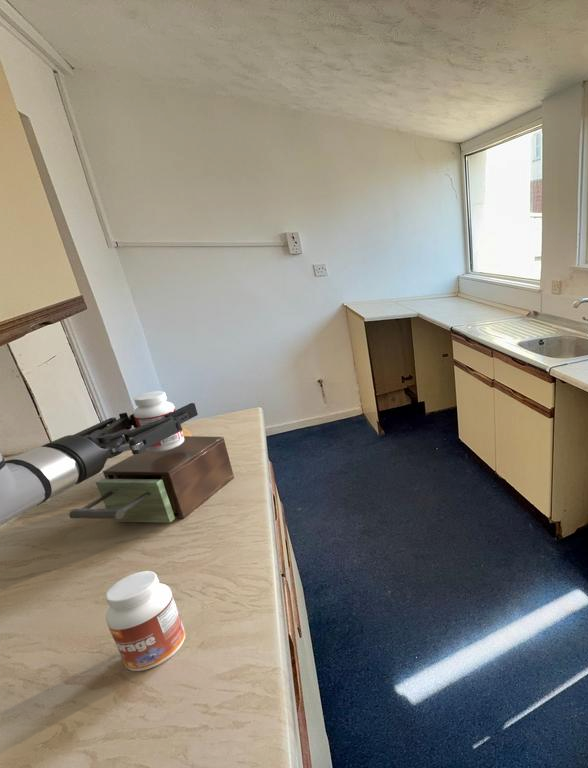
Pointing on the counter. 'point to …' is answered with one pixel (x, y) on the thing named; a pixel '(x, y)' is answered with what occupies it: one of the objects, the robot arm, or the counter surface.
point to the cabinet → (184, 470)
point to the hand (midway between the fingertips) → (178, 408)
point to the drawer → (131, 500)
